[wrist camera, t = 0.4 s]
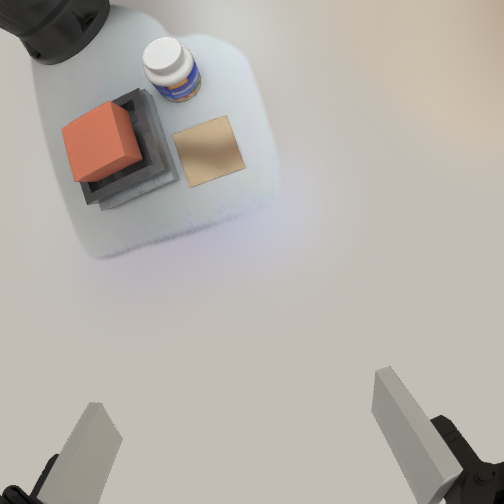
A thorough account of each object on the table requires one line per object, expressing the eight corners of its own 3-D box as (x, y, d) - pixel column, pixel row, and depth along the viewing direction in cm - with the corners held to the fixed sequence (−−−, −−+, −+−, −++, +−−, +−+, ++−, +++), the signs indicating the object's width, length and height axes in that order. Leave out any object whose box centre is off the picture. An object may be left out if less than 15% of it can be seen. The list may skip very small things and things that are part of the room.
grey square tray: (87, 128, 32) (64, 121, 26) (151, 95, 32) (136, 81, 26) (111, 208, 35) (89, 213, 29) (179, 179, 34) (167, 177, 29)
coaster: (173, 135, 33) (172, 135, 33) (226, 115, 33) (226, 115, 32) (190, 187, 35) (190, 187, 34) (245, 167, 34) (245, 167, 34)
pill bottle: (182, 110, 32) (162, 85, 23) (152, 89, 32) (125, 62, 22) (210, 78, 32) (200, 45, 22) (179, 59, 31) (161, 24, 21)
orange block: (84, 135, 27) (61, 129, 23) (128, 111, 27) (109, 100, 22) (97, 181, 29) (74, 181, 24) (142, 159, 28) (125, 155, 24)
